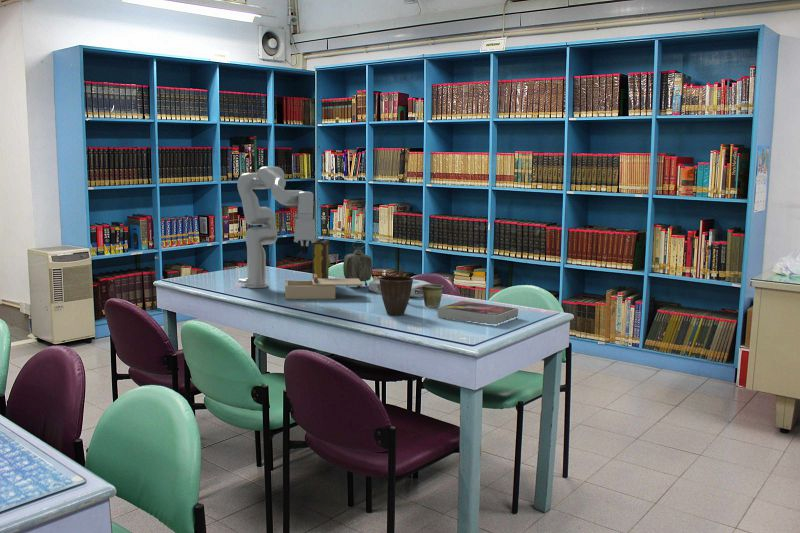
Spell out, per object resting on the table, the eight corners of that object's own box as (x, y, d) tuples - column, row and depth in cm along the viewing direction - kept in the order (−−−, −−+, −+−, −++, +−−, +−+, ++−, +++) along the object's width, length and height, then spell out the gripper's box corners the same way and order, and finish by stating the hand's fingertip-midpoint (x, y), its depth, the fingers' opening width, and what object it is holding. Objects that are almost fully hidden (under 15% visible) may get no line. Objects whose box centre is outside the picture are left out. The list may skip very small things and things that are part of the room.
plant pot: (371, 313, 314) (372, 277, 312) (394, 309, 325) (395, 274, 323) (396, 318, 304) (397, 282, 302) (418, 314, 315) (420, 278, 313)
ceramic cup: (439, 309, 328) (439, 288, 327) (418, 307, 332) (419, 286, 330) (447, 304, 340) (447, 284, 339) (427, 302, 344) (428, 282, 342)
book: (326, 290, 372) (326, 242, 369) (309, 289, 373) (310, 242, 369) (330, 283, 394) (331, 238, 391) (315, 283, 394) (316, 238, 391)
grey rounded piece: (368, 285, 391) (369, 240, 388) (373, 288, 383) (374, 241, 379) (342, 286, 387) (343, 240, 383) (347, 288, 378) (347, 242, 375)
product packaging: (495, 327, 294) (496, 316, 294) (437, 318, 310) (437, 307, 309) (517, 319, 312) (518, 308, 311) (461, 311, 328) (461, 300, 327)
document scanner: (410, 299, 354) (410, 286, 353) (367, 292, 371) (368, 280, 370) (434, 294, 370) (435, 282, 369) (393, 287, 387) (393, 276, 387)
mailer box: (285, 299, 342) (285, 286, 341) (285, 293, 360) (285, 280, 359) (335, 299, 346) (335, 286, 345) (332, 293, 364) (332, 280, 363)
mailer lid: (313, 285, 343) (313, 278, 343) (311, 280, 361) (311, 273, 361) (362, 285, 347) (362, 278, 347) (358, 280, 365) (358, 273, 364)
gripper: (289, 217, 342) (289, 254, 345) (320, 217, 345) (320, 255, 348) (289, 215, 350) (289, 252, 352) (320, 216, 352) (319, 253, 355)
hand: (304, 253), depth 350 cm, fingers closed
